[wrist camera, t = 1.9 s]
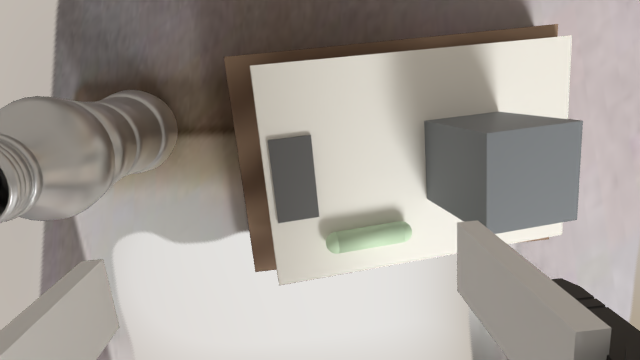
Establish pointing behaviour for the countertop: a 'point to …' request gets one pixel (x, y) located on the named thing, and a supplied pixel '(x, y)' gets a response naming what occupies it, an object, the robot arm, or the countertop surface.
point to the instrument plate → (415, 152)
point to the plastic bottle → (77, 150)
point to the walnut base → (241, 64)
